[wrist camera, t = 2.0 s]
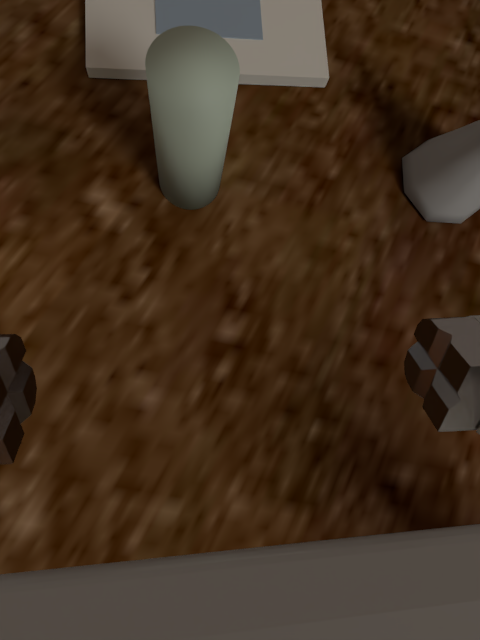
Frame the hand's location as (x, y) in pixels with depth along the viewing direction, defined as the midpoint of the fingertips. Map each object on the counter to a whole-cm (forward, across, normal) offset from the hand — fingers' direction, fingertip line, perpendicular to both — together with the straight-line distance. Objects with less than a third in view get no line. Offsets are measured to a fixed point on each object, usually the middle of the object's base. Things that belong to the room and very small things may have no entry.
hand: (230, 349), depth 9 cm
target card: (+34, -2, -6) cm, 35 cm away
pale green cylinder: (+24, 0, +4) cm, 24 cm away
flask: (+24, -20, +4) cm, 32 cm away
